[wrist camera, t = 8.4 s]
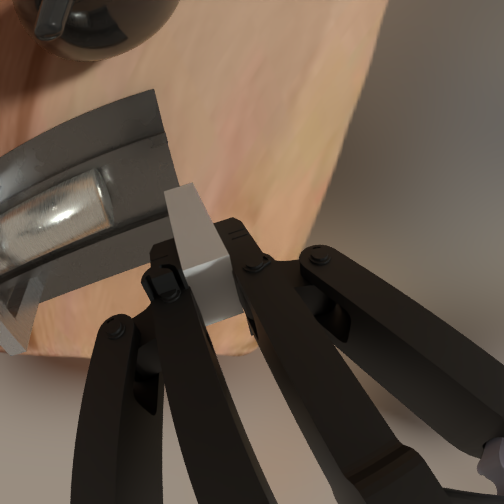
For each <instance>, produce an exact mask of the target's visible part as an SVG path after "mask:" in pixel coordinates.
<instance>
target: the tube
mask: <svg viewBox="0 0 504 504" xmlns="http://www.w3.org/2000/svg"><path fill="white" fill-rule="evenodd" d="M113 225H114V212H113V207H112V203H111V199H110V196H109V193H108V190H107V187H106V184H105V182H104V180H103V178H102V176H101V174H100V172H99V171H98V170H97V169H96V168H94V169H92V170H89V171H87V172H85V173H82V174H80V175H78V176H76V177H73V178H71V179H69V180H67V181H64V182H62V183H60V184H58V185H56V186H54V187H52V188H50V189H48V190H46V191H44V192H42V193H40V194H38V195H36V196H34V197H32V198H30V199H28V200H26V201H24V202H22V203H21V204H19V205H17V206H15V207H13V208H12V209H10V210H8V211H6V212H5V213H3V214H1V215H0V275H2V274H4V273H6V272H8V271H10V270H12V269H14V268H17V267H19V266H21V265H23V264H25V263H27V262H29V261H31V260H34V259H36V258H38V257H40V256H42V255H45V254H47V253H49V252H51V251H54V250H56V249H58V248H61V247H63V246H65V245H68V244H70V243H72V242H75V241H77V240H80V239H82V238H84V237H87V236H89V235H92V234H94V233H97V232H99V231H102V230H104V229H107V228H109V227H112V226H113Z"/></svg>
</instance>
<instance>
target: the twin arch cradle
mask: <svg viewBox="0 0 504 504" xmlns="http://www.w3.org/2000/svg"><path fill="white" fill-rule="evenodd" d="M94 168H96V169H97V170H98V171H99V172H100V174H101V176H102V178H103V180H104V182H105V184H106V187H107V190H108V193H109V196H110V199H111V203H112V207H113V212H114V225H113V226H112V227H109V228H107V229H104V230H102V231H99V232H97V233H94V234H92V235H89V236H87V237H84V238H82V239H80V240H77V241H75V242H72V243H70V244H68V245H65V246H63V247H61V248H58V249H56V250H54V251H51V252H49V253H47V254H45V255H42V256H40V257H38V258H36V259H34V260H31V261H29V262H27V263H25V264H23V265H21V266H19V267H17V268H14V269H12V270H10V271H8V272H6V273H4V274H2V275H0V345H1V346H2V347H3V348H4V349H5V350H6V352H7V353H8V354H9V355H10V356H13V355H16V354H20V353H23V352H26V351H27V348H28V343H29V339H30V334H31V330H32V326H33V323H34V319H35V315H36V311H37V308H38V305H39V303H41V302H44V301H46V300H49V299H52V298H54V297H57V296H60V295H62V294H65V293H67V292H70V291H73V290H75V289H78V288H81V287H84V286H86V285H89V284H92V283H94V282H97V281H100V280H102V279H105V278H108V277H111V276H113V275H116V274H119V273H122V272H124V271H127V270H130V269H133V268H136V267H138V266H141V265H144V264H147V263H150V254H149V253H150V251H151V249H152V246H153V245H154V244H157V243H160V242H162V241H165V240H168V239H171V238H174V235H173V230H172V226H171V222H170V218H169V213H168V209H167V204H166V200H165V195H164V191H167V190H170V189H173V188H176V187H179V183H178V179H177V176H176V172H175V169H174V165H173V161H172V158H171V154H170V150H169V147H168V141H167V137H166V133H165V131H164V127H163V123H162V119H161V115H160V111H159V107H158V103H157V99H156V95H155V91H154V89H152V90H148V91H145V92H142V93H139V94H136V95H133V96H130V97H127V98H124V99H121V100H118V101H115V102H113V103H110V104H107V105H105V106H102V107H100V108H97V109H95V110H92V111H90V112H87V113H85V114H83V115H80V116H78V117H76V118H73V119H71V120H69V121H67V122H65V123H63V124H60V125H58V126H56V127H54V128H52V129H50V130H48V131H46V132H44V133H42V134H40V135H39V136H37V137H35V138H33V139H31V140H29V141H27V142H26V143H24V144H22V145H20V146H19V147H17V148H15V149H13V150H12V151H10V152H8V153H7V154H5V155H4V156H2V157H0V215H1V214H3V213H5V212H6V211H8V210H10V209H12V208H13V207H15V206H17V205H19V204H21V203H22V202H24V201H26V200H28V199H30V198H32V197H34V196H36V195H38V194H40V193H42V192H44V191H46V190H48V189H50V188H52V187H54V186H56V185H58V184H60V183H62V182H64V181H67V180H69V179H71V178H73V177H76V176H78V175H80V174H82V173H85V172H87V171H89V170H92V169H94Z"/></svg>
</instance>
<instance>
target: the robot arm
mask: <svg viewBox="0 0 504 504" xmlns="http://www.w3.org/2000/svg"><path fill="white" fill-rule="evenodd" d="M164 195H165V200H166V204H167V209H168V213H169V218H170V222H171V226H172V230H173V235H174V238H171V239H168V240H165V241H162V242H160V243H157V244H154V245H153V246H152V249H151V251H150V253H149V254H150V263H151V267H150V268H149V269H148V270H147V271H146V272H145V273H144V275H143V276H142V279H141V284H142V286H143V288H144V290H145V292H146V293H147V295H148V297H149V299H150V301H151V304H150V305H149V306H148V307H147V308H146V309H145V310H144V311H143V312H141V313H140V314H138V315H137V316H135V317H134V318H131V317H130V316H128V315H126V314H118V315H114V316H112V317H110V318H108V319H107V320H106V321H105V322H104V323H103V324H102V325H101V327H100V329H99V331H98V334H97V337H96V341H95V345H94V349H93V353H92V357H91V361H90V366H89V370H88V374H87V379H86V383H85V388H84V393H83V398H82V404H81V409H80V415H79V421H78V428H77V434H76V442H75V449H74V459H73V469H72V482H71V501H70V504H163V486H162V428H163V426H162V425H163V400H164V383H165V388H166V392H167V397H168V401H169V406H170V410H171V414H172V418H173V422H174V426H175V430H176V434H177V437H178V441H179V445H180V448H181V452H182V455H183V458H184V462H185V465H186V468H187V472H188V475H189V478H190V481H191V484H192V487H193V490H194V493H195V496H196V498H197V501H198V504H278V503H277V501H276V499H275V497H274V495H273V493H272V491H271V489H270V486H269V484H268V482H267V480H266V478H265V476H264V473H263V471H262V469H261V467H260V465H259V462H258V460H257V458H256V455H255V453H254V451H253V448H252V446H251V444H250V442H249V439H248V437H247V434H246V432H245V429H244V427H243V425H242V422H241V420H240V417H239V415H238V412H237V410H236V407H235V404H234V402H233V400H232V397H231V394H230V392H229V389H228V386H227V384H226V381H225V378H224V376H223V373H222V370H221V368H220V365H219V362H218V359H217V356H216V353H215V350H214V348H213V345H212V342H211V339H210V336H209V334H208V332H207V329H206V327H205V326H208V325H210V324H213V323H216V322H219V321H222V320H225V319H227V318H230V317H233V316H236V315H238V314H241V313H244V312H245V314H246V317H247V321H248V325H249V329H250V333H251V336H252V335H254V337H255V339H256V341H257V343H258V345H259V347H260V349H261V352H262V353H263V356H264V358H265V360H266V362H267V364H268V366H269V368H270V370H271V372H272V374H273V376H274V378H275V380H276V382H277V384H278V386H279V388H280V390H281V392H282V394H283V396H284V398H285V400H286V402H287V404H288V406H289V408H290V410H291V412H292V414H293V416H294V418H295V420H296V422H297V424H298V426H299V428H300V429H301V431H302V433H303V435H304V437H305V439H306V441H307V443H308V445H309V447H310V449H311V450H312V452H313V454H314V456H315V458H316V460H317V462H318V464H319V465H320V467H321V469H322V471H323V473H324V475H325V476H326V478H327V480H328V482H329V484H330V486H331V488H332V491H333V494H334V496H335V499H336V501H337V502H338V504H504V365H503V364H501V363H500V362H499V361H497V360H496V359H495V358H494V357H492V356H491V355H490V354H488V353H487V352H486V351H484V350H483V349H482V348H480V347H479V346H477V345H476V344H475V343H474V342H472V341H471V340H469V339H468V338H467V337H465V336H464V335H463V334H461V333H460V332H458V331H457V330H456V329H454V328H453V327H451V326H450V325H449V324H447V323H446V322H444V321H443V320H441V319H440V318H439V317H437V316H436V315H434V314H433V313H432V312H430V311H429V310H427V309H426V308H424V307H423V306H421V305H420V304H419V303H417V302H416V301H414V300H413V299H411V298H410V297H408V296H407V295H405V294H404V293H402V292H401V291H399V290H398V289H396V288H395V287H393V286H392V285H390V284H388V283H387V282H386V281H384V280H383V279H381V278H379V277H378V276H376V275H375V274H373V273H372V272H370V271H369V270H367V269H366V268H364V267H362V266H361V265H359V264H358V263H356V262H355V261H353V260H351V259H350V258H348V257H347V256H345V255H344V254H342V253H340V252H339V251H337V250H336V249H334V248H332V247H329V246H326V245H313V246H310V247H308V248H305V249H304V250H303V251H302V252H301V254H300V256H299V260H291V261H276V260H274V259H273V258H272V257H271V256H270V255H268V254H265V253H263V252H262V251H261V249H260V248H259V246H258V245H257V244H256V242H255V241H254V239H253V238H252V236H251V235H250V234H249V232H248V230H247V229H246V228H245V226H244V225H243V223H242V222H241V221H240V220H237V219H235V218H233V217H232V218H229V219H226V220H223V221H220V222H216V223H213V222H212V220H211V218H210V216H209V214H208V212H207V210H206V208H205V206H204V204H203V202H202V200H201V198H200V196H199V194H198V192H197V190H196V188H195V186H194V184H193V182H192V183H189V184H186V185H182V186H179V187H176V188H173V189H170V190H167V191H164ZM242 307H243V308H242ZM243 309H244V312H243ZM333 344H334V345H335V346H336V347H337V348H339V349H340V350H341V351H342V352H343V353H344V354H346V356H348V357H349V358H350V359H351V360H352V361H353V362H355V363H356V364H357V365H358V366H359V367H360V368H361V369H363V370H364V371H365V372H366V373H367V374H368V375H370V376H371V377H372V378H373V379H374V380H376V381H377V382H378V383H379V384H380V385H381V386H382V387H384V388H385V389H386V390H387V391H388V392H389V393H391V394H392V395H393V396H394V397H395V398H397V399H398V400H399V401H400V402H401V403H403V404H404V405H405V406H406V407H407V408H408V409H410V410H411V411H412V412H413V413H414V414H415V415H417V416H418V417H419V418H420V419H422V420H423V421H424V422H425V423H426V424H427V425H429V426H430V427H431V428H432V429H433V430H435V431H436V432H437V433H438V434H439V435H441V436H442V437H443V438H444V439H445V440H447V441H448V442H449V443H451V444H452V445H453V446H455V447H456V448H457V449H459V450H461V451H463V452H465V453H467V454H468V455H471V456H474V457H477V458H480V459H481V460H480V461H479V463H478V465H477V471H478V473H479V474H480V475H484V476H485V477H486V478H487V479H489V480H491V481H492V482H493V483H494V484H495V486H496V488H497V495H490V494H480V493H474V492H467V491H460V490H454V489H449V488H442V486H441V485H440V483H439V482H438V480H437V479H436V477H435V476H434V474H433V473H432V471H431V469H430V468H429V466H428V465H427V463H426V462H425V460H424V459H423V458H422V457H421V456H420V455H419V453H418V452H416V451H415V450H414V449H413V448H411V447H408V446H405V445H403V444H402V443H401V442H399V440H398V439H397V438H396V437H395V435H394V433H393V432H392V430H391V429H390V427H389V426H388V424H387V423H386V421H385V420H384V418H383V417H382V415H381V414H380V413H379V411H378V409H377V408H376V406H375V405H374V403H373V402H372V401H371V399H370V398H369V396H368V395H367V393H366V392H365V390H364V389H363V387H362V386H361V384H360V383H359V381H358V380H357V378H356V377H355V375H354V374H353V373H352V371H351V369H350V368H349V367H348V365H347V364H346V362H345V361H344V359H343V358H342V356H341V355H340V354H339V352H338V351H337V349H336V348H335V346H334V345H333Z"/></svg>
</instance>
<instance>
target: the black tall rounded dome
mask: <svg viewBox="0 0 504 504" xmlns="http://www.w3.org/2000/svg"><path fill="white" fill-rule="evenodd" d="M179 1H180V0H12V2H13V5H14V8H15V11H16V13H17V15H18V18H19V20H20V22H21V24H22V25H23V27H24V29H25V30H26V31H27V33H28V34H29V35H30V36H31V38H32V39H33V40H34V41H35V42H36V43H37V44H38V45H39V46H41V47H42V48H43V49H44V50H46V51H47V52H49V53H51V54H53V55H55V56H57V57H60V58H63V59H66V60H71V61H79V62H89V61H98V60H104V59H108V58H112V57H115V56H118V55H120V54H123V53H125V52H128V51H130V50H132V49H134V48H135V47H137V46H139V45H141V44H142V43H144V42H145V41H147V40H148V39H149V38H151V37H152V36H153V35H154V34H155V33H157V32H158V31H159V30H160V29H161V28H162V27H163V26H164V25H165V23H166V22H167V21H168V20H169V18H170V17H171V16H172V14H173V13H174V11H175V9H176V7H177V5H178V3H179Z"/></svg>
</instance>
